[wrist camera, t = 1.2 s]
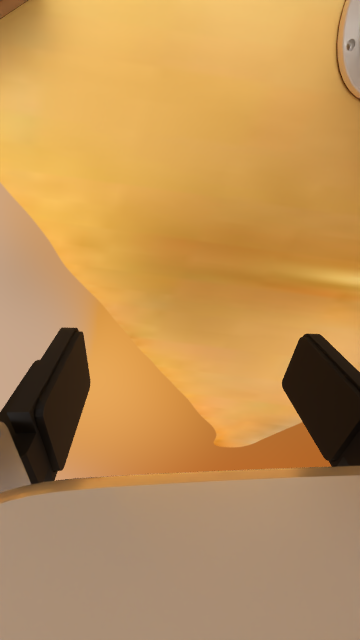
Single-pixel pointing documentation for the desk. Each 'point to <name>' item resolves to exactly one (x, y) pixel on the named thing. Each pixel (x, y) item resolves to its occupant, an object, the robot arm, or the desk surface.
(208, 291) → the desk surface
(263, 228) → the desk surface
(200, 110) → the desk surface
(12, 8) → the brown wooden book rack
